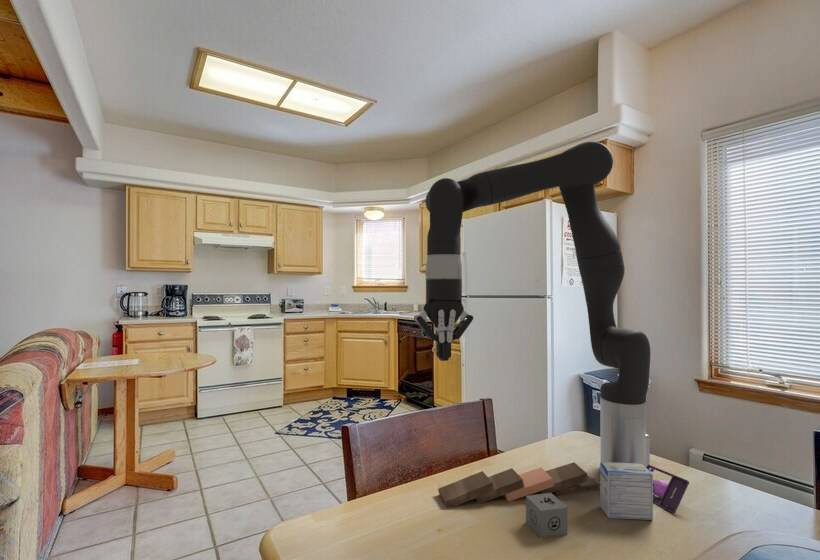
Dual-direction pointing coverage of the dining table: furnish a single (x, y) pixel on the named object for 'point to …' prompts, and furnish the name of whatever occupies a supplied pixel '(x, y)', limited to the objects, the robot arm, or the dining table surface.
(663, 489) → the purple window box
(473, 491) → the domino
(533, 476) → the domino
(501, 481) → the domino
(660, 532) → the dining table surface
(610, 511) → the medicine box
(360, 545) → the dining table surface
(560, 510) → the dice cube
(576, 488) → the domino
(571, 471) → the domino
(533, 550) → the dining table surface
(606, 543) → the dining table surface
